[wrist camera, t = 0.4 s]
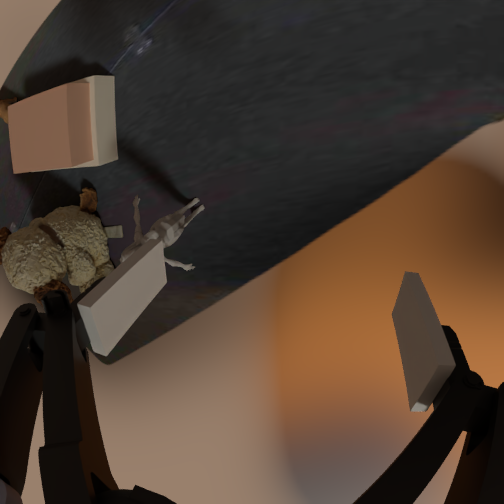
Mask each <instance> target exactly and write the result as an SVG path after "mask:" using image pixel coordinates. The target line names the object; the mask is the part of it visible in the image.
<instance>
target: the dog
mask: <svg viewBox="0 0 504 504" xmlns="http://www.w3.org/2000/svg"><path fill="white" fill-rule="evenodd" d="M82 191H83V193H82V194H80V197H81V198H80V201H81V203H80V204H81V205H80V206H74V205H71V206H67V207H59V208H57V209H55V210H54V211H53V212H51V213H49V214H48V215H47V216H45V217H44V218H41V217H40V218H35V219H34V220H33V221H31V222H30V224H29V227H24V228H23V229H19V230H18V231H17V232H15V233H13V234H12V233H11V232H10V231H9V229H7V227H3V228H1V230H0V265H1V264H2V263H3V267H4V269H5V272H6V275H7V277H8V279H9V281H10V282H11V283H12V286H13V287H16V288H17V289H21V290H24V291H27V292H28V293H30V294H34V297H35V298H36V300H37V302H38V303H41V305H42V306H43V304H42V302H41V299H42V297H43V296H44V295H45V294H46V293H48V292H49V291H52V290H56V289H62V290H65V291H66V292H67V295H68V298H69V302H70V303H72V302H73V301H74V300H73V299H72V296H71V291H70V289H69V288H68V287H67V286H66V284H64V283H63V282H62V278H64V276H65V274H66V271H67V273H68V276H69V278H68V279H69V282H70V284H72V285H76V286H78V285H79V288H80V291H81V293H82V292H85V290H86V289H87V288H88V287H90V285H91V284H92V283H94V282H95V281H96V280H98V279H100V278H102V277H104V276H105V277H107V276H108V275H109V274H110V273H111V272H112V271H113V270H114V266H113V264H112V262H111V261H110V260H109V254H108V253H109V249H108V246H107V238H122V237H123V232H122V225H119V226H111V227H103V226H102V225H101V220H100V219H99V218H97V217H95V215H94V214H93V215H92V213H91V212H95V211H96V208H97V207H96V205H97V202H98V201H97V193H96V191H95V190H94V189H92V188H90V189H88V188H87V187H86V188H84V189H82ZM66 268H67V269H68V270H66Z"/></svg>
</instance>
